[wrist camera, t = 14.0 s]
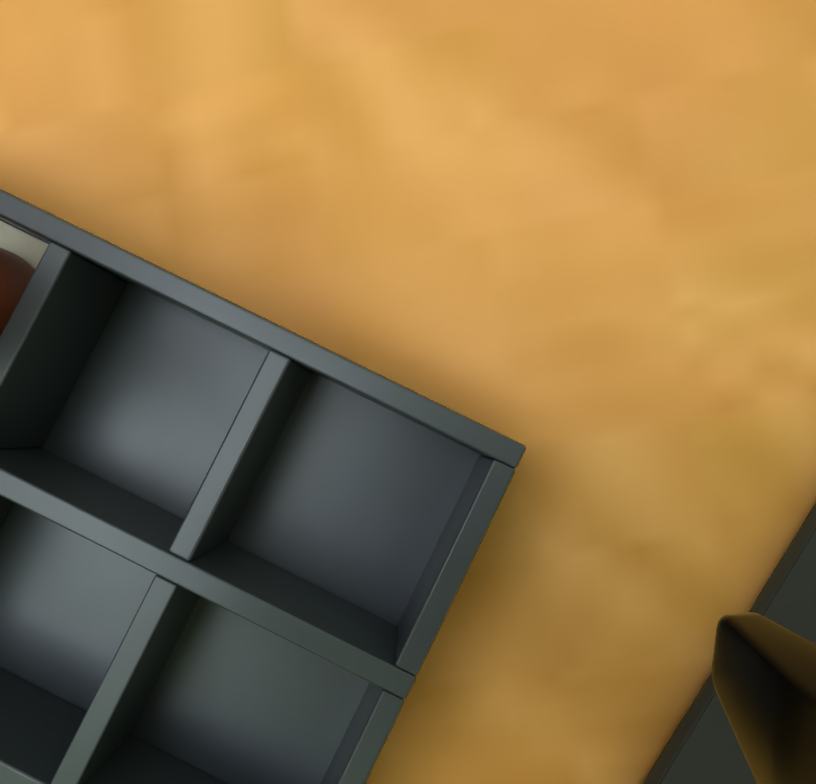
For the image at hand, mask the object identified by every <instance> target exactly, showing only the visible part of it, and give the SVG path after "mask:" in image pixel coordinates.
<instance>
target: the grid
mask: <svg viewBox="0 0 816 784" xmlns="http://www.w3.org/2000/svg"><path fill="white" fill-rule="evenodd" d="M0 247H1V248H3V249H5V250H8V251H10V252H12V253H14V254H16V255H18V256H19V257H21V258H23V259H24V260H25V261H26V262H28V263H29V264H30V265H31V266H32V267H33V268H34V269H35V271H34V273H33V275H32V277H31V279H30V281H29V283H28V285H27V287H26V289H25V290H24V292H23V294H22V296H21V298H20V300H19V302H18V304H17V306H16V308H15V309H14V311H13V313H12V315H11V317H10V319H9V321H8V323H7V325H6V327H5V328H4V330H3V332H2V334H1V336H0V784H365V783H366V781H367V779H368V777H369V775H370V773H371V771H372V769H373V767H374V764H375V762H376V760H377V758H378V756H379V754H380V752H381V750H382V748H383V746H384V744H385V742H386V739H387V737H388V735H389V733H390V731H391V729H392V727H393V725H394V723H395V721H396V719H397V716H398V714H399V712H400V710H401V708H402V706H403V704H404V699H406V698H407V696H408V694H409V692H410V690H411V687H412V685H413V683H414V681H415V678H416V675H417V674H418V673H419V671H420V669H421V666H422V664H423V662H424V660H425V658H426V656H427V654H428V652H429V650H430V648H431V646H432V644H433V641H434V639H435V637H436V635H437V633H438V631H439V629H440V627H441V625H442V623H443V621H444V619H445V616H446V614H447V612H448V610H449V608H450V606H451V604H452V602H453V600H454V598H455V596H456V594H457V591H458V589H459V587H460V585H461V583H462V581H463V579H464V577H465V575H466V573H467V571H468V569H469V566H470V564H471V562H472V560H473V558H474V556H475V554H476V552H477V550H478V548H479V546H480V544H481V541H482V539H483V537H484V535H485V533H486V531H487V529H488V527H489V525H490V523H491V521H492V519H493V516H494V514H495V512H496V510H497V508H498V506H499V504H500V502H501V500H502V498H503V496H504V494H505V491H506V489H507V487H508V485H509V483H510V481H511V479H512V477H513V475H514V473H515V469H514V468H516V467H517V466H518V464H519V462H520V460H521V458H522V456H523V454H524V452H525V450H526V447H525V446H524V445H522V444H520V443H518V442H516V441H514V440H512V439H510V438H508V437H506V436H504V435H502V434H500V433H498V432H496V431H494V430H492V429H490V428H488V427H486V426H484V425H482V424H480V423H477V422H475V421H473V420H471V419H469V418H467V417H465V416H463V415H461V414H459V413H457V412H455V411H453V410H451V409H449V408H447V407H445V406H443V405H441V404H439V403H437V402H435V401H433V400H430V399H428V398H426V397H424V396H422V395H420V394H418V393H416V392H414V391H412V390H410V389H408V388H406V387H404V386H402V385H400V384H398V383H396V382H394V381H392V380H390V379H388V378H386V377H383V376H381V375H379V374H377V373H375V372H373V371H371V370H369V369H367V368H365V367H363V366H361V365H359V364H357V363H355V362H353V361H351V360H349V359H347V358H345V357H343V356H341V355H339V354H336V353H334V352H332V351H330V350H328V349H326V348H324V347H322V346H320V345H318V344H316V343H314V342H312V341H310V340H308V339H306V338H304V337H302V336H300V335H298V334H296V333H294V332H292V331H289V330H287V329H285V328H283V327H281V326H279V325H277V324H275V323H273V322H271V321H269V320H267V319H265V318H263V317H261V316H259V315H257V314H255V313H253V312H251V311H249V310H247V309H245V308H242V307H240V306H238V305H236V304H234V303H232V302H230V301H228V300H226V299H224V298H222V297H220V296H218V295H216V294H214V293H212V292H210V291H208V290H206V289H204V288H202V287H200V286H198V285H196V284H193V283H191V282H189V281H187V280H185V279H183V278H181V277H179V276H177V275H175V274H173V273H171V272H169V271H167V270H165V269H163V268H161V267H159V266H157V265H155V264H153V263H151V262H149V261H146V260H144V259H142V258H140V257H138V256H136V255H134V254H132V253H130V252H128V251H126V250H124V249H122V248H120V247H118V246H116V245H114V244H112V243H110V242H108V241H106V240H104V239H102V238H99V237H97V236H95V235H93V234H91V233H89V232H87V231H85V230H83V229H81V228H79V227H77V226H75V225H73V224H71V223H69V222H67V221H65V220H63V219H61V218H59V217H57V216H55V215H52V214H50V213H48V212H46V211H44V210H42V209H40V208H38V207H36V206H34V205H32V204H30V203H28V202H26V201H24V200H22V199H20V198H18V197H16V196H14V195H12V194H10V193H8V192H5V191H3V190H1V189H0Z"/></svg>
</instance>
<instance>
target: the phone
mask: <svg viewBox="0 0 816 784" xmlns="http://www.w3.org/2000/svg"><path fill="white" fill-rule="evenodd" d="M749 612H753V613H758V614H760V615H762V616H764V617H766V618H768V619H770V620H772V621H774V622H775V623H777V624H779V625H781V626H783V627H785V628H787V629H789V630H790V631H792V632H794V633H796V634H798V635H800V636H802V637H804V638H805V639H807V640H809V641H811V642H813V643H815V644H816V504H815V506H814V507H813V509H812V510H811V512H810V514H809V515H808V517H807V519H806V520H805V522H804V523H803V525H802V527H801V528H800V530H799V532H798V533H797V535H796V536H795V538H794V540H793V541H792V543H791V545H790V546H789V548H788V549H787V551H786V553H785V554H784V556H783V558H782V559H781V561H780V562H779V564H778V566H777V567H776V569H775V571H774V572H773V574H772V575H771V577H770V579H769V580H768V582H767V584H766V585H765V587H764V588H763V590H762V592H761V593H760V595H759V597H758V598H757V600H756V601H755V603H754V605H753V606H752V608H751V610H750V611H749ZM644 784H757V782H756V780H755V778H754V776H753V773H752V771H751V769H750V767H749V764H748V762H747V760H746V758H745V755H744V753H743V751H742V749H741V747H740V744H739V742H738V740H737V738H736V735H735V733H734V731H733V729H732V726H731V724H730V722H729V720H728V717H727V715H726V713H725V711H724V708H723V706H722V704H721V702H720V699H719V697H718V695H717V693H716V690H715V687H714V684H713V678H712V673H711V675H710V676H709V678H708V680H707V681H706V683H705V684H704V686H703V688H702V689H701V691H700V693H699V694H698V696H697V697H696V699H695V701H694V702H693V704H692V706H691V707H690V709H689V710H688V712H687V714H686V715H685V717H684V719H683V720H682V722H681V723H680V725H679V727H678V728H677V730H676V732H675V733H674V735H673V736H672V738H671V740H670V741H669V743H668V745H667V746H666V748H665V749H664V751H663V753H662V754H661V756H660V758H659V759H658V761H657V762H656V764H655V766H654V767H653V769H652V771H651V772H650V774H649V775H648V777H647V779H646V780H645V782H644Z"/></svg>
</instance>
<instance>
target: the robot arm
mask: <svg viewBox="0 0 816 784" xmlns="http://www.w3.org/2000/svg"><path fill="white" fill-rule="evenodd" d="M712 678H713V684H714V687H715V690H716V693H717V695H718V697H719V699H720V702H721V704H722V706H723V708H724V711H725V713H726V715H727V717H728V720H729V722H730V724H731V726H732V729H733V731H734V733H735V735H736V738H737V740H738V742H739V744H740V747H741V749H742V751H743V753H744V755H745V758H746V760H747V762H748V764H749V767H750V769H751V771H752V773H753V776H754V778H755V780H756V782H757V784H816V644H815V643H813V642H811V641H809V640H807V639H805V638H804V637H802V636H800V635H798V634H796V633H794V632H792V631H790V630H789V629H787V628H785V627H783V626H781V625H779V624H777V623H775V622H774V621H772V620H770V619H768V618H766V617H764V616H762V615H760V614H758V613H753V612H748V613H739V614H730V615H725V616H723V617H721V618H720V620H719V622H718V624H717V630H716V638H715V647H714V655H713V664H712Z"/></svg>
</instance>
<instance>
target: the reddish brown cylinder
mask: <svg viewBox="0 0 816 784" xmlns="http://www.w3.org/2000/svg"><path fill="white" fill-rule="evenodd" d="M34 271H35V269H34V268H33V267H32V266H31V265H30V264H29V263H28V262H26V261H25V260H24V259H23V258H21V257H19V256H18V255H16V254H14V253H12V252H10V251H8V250H5V249H3V248H1V247H0V336H1V334H2V332H3V330H4V328H5V327H6V325H7V323H8V321H9V319H10V317H11V315H12V313H13V311H14V309H15V308H16V306H17V304H18V302H19V300H20V298H21V296H22V294H23V292H24V290H25V289H26V287H27V285H28V283H29V281H30V279H31V277H32V275H33V273H34Z"/></svg>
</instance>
